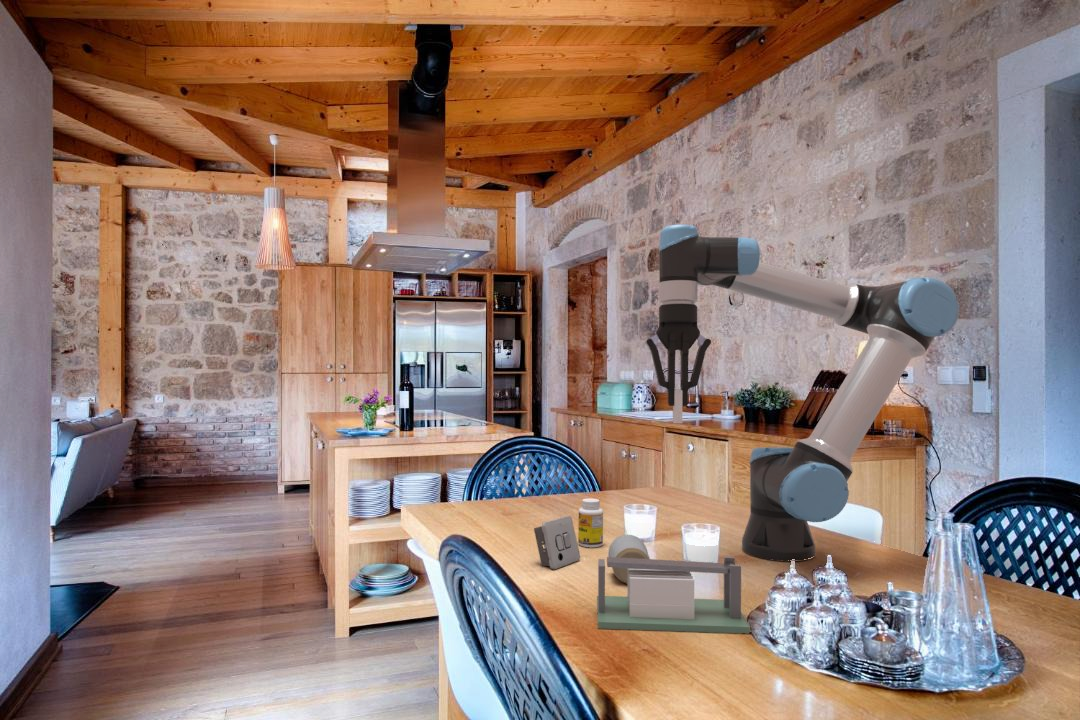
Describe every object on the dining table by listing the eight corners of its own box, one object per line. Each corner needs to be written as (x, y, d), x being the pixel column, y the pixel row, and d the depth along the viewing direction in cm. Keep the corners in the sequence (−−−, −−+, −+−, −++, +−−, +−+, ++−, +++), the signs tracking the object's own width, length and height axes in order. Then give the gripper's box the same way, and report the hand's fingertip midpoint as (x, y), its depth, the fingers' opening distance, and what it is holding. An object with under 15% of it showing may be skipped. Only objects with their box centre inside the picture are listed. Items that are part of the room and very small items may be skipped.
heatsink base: (733, 605, 114) (733, 551, 114) (750, 633, 102) (750, 572, 102) (597, 601, 115) (597, 547, 115) (598, 628, 103) (598, 568, 104)
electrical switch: (554, 571, 133) (550, 523, 133) (533, 568, 136) (530, 522, 137) (581, 561, 140) (578, 515, 141) (561, 558, 143) (558, 514, 144)
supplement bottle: (574, 543, 154) (574, 498, 154) (595, 541, 156) (596, 496, 156) (585, 549, 149) (585, 503, 149) (607, 547, 151) (607, 501, 151)
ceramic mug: (612, 586, 124) (613, 544, 124) (607, 572, 132) (608, 533, 132) (669, 587, 124) (670, 546, 124) (661, 574, 132) (662, 534, 132)
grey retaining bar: (735, 571, 109) (735, 561, 109) (739, 576, 106) (739, 566, 106) (606, 564, 111) (607, 554, 111) (607, 569, 108) (607, 559, 108)
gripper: (707, 305, 137) (707, 421, 137) (643, 305, 138) (643, 420, 138) (714, 302, 130) (714, 424, 129) (646, 302, 131) (646, 423, 130)
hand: (677, 422), depth 134 cm, fingers closed
